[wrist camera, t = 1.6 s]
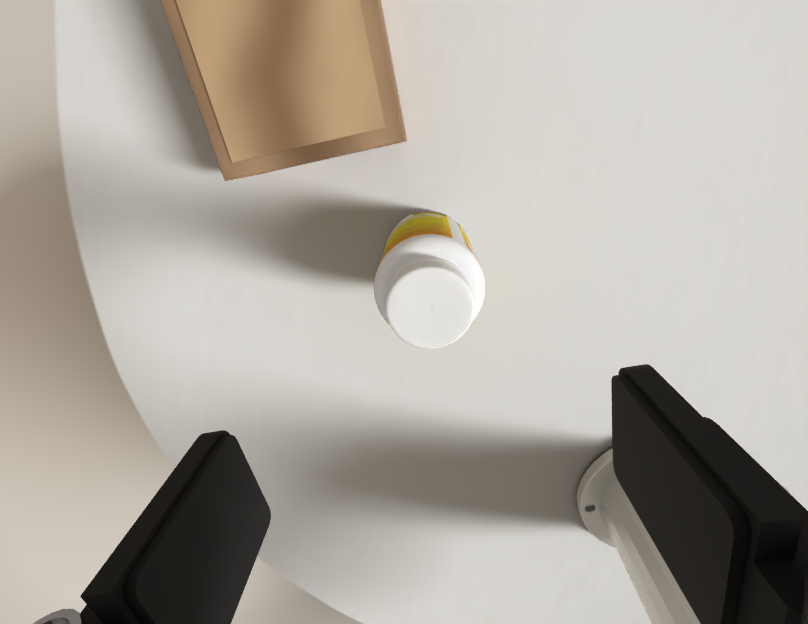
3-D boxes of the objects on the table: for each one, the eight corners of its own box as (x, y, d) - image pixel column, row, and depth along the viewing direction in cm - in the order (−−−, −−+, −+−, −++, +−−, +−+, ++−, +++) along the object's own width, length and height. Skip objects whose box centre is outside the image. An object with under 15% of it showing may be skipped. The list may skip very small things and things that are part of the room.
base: (368, -66, 21) (355, -113, 17) (406, 141, 24) (403, 140, 21) (190, -14, 22) (141, -48, 18) (253, 175, 26) (223, 181, 22)
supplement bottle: (370, 257, 27) (342, 318, 18) (421, 191, 26) (419, 220, 16) (433, 305, 29) (438, 385, 19) (486, 244, 27) (520, 300, 17)
